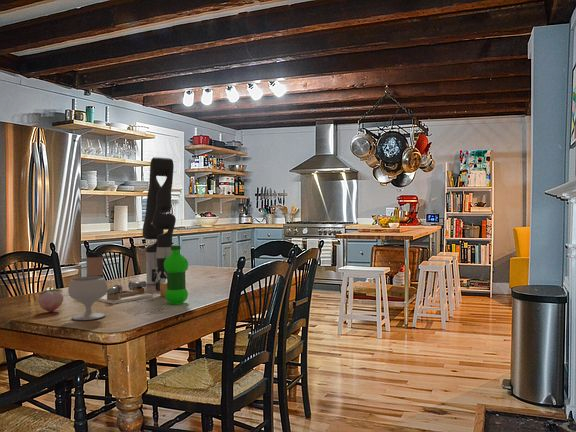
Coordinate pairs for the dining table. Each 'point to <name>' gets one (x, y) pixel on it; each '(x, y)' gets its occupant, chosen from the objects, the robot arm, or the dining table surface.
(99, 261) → the travel mug
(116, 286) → the grey rounded block
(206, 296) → the dining table surface
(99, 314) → the chalice
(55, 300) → the decorative fruit
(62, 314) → the dining table surface
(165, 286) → the coupler
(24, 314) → the dining table surface
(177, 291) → the plastic bottle
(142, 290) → the shaft
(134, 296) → the pale beige flat slab
